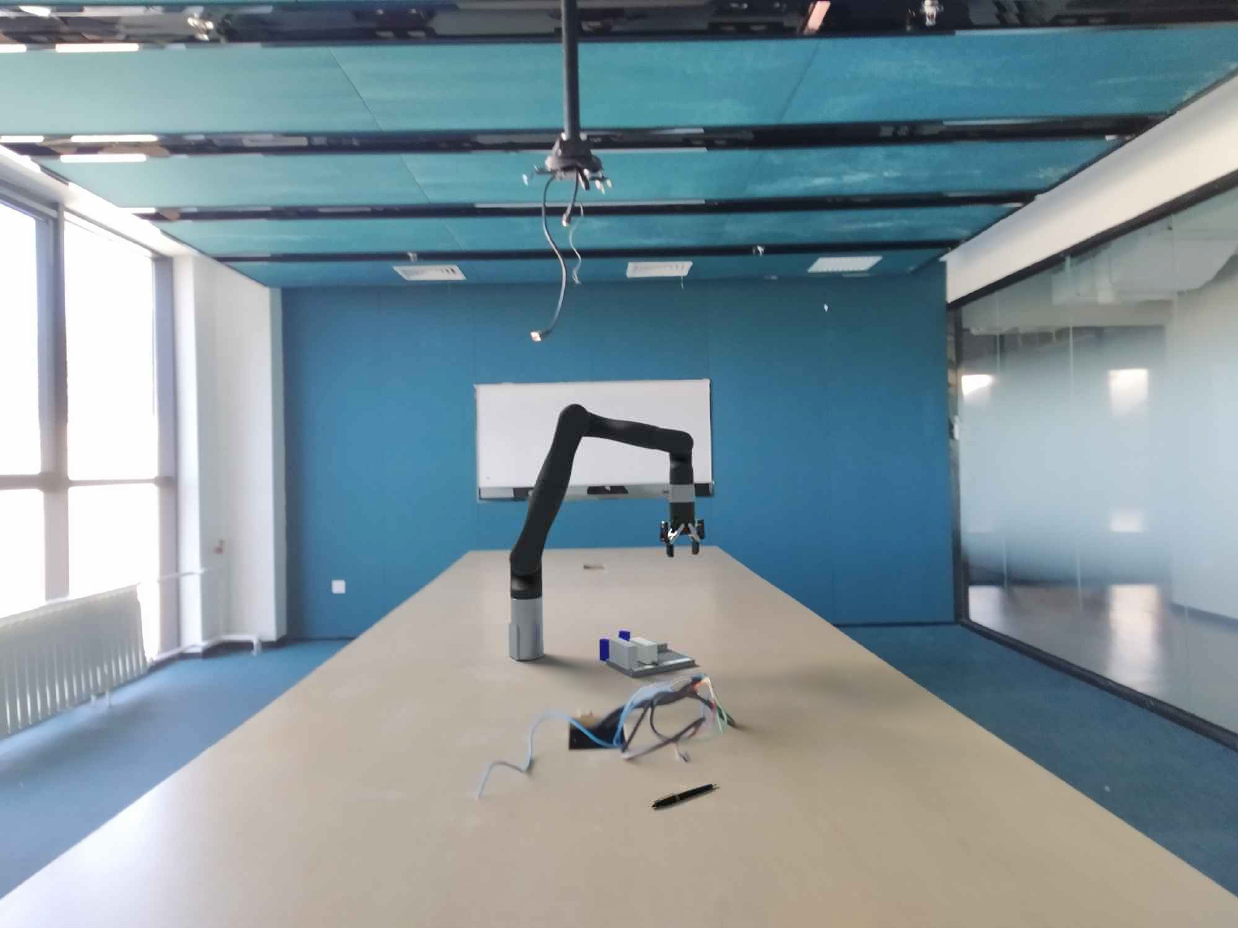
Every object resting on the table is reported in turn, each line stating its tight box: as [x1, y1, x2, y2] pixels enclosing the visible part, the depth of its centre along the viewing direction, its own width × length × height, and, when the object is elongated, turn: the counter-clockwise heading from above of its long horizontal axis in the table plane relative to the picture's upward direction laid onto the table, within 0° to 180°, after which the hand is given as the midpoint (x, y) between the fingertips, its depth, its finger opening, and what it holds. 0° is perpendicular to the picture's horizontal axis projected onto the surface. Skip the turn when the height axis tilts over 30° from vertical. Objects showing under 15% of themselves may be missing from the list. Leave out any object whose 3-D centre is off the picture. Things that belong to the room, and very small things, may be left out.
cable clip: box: [599, 630, 631, 662], centre depth 204 cm, size 12×4×6 cm, turn 148°
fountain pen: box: [651, 782, 719, 808], centre depth 118 cm, size 14×1×2 cm, turn 123°
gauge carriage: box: [629, 636, 659, 665], centre depth 192 cm, size 4×12×5 cm, turn 30°
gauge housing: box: [605, 636, 696, 679], centre depth 194 cm, size 20×14×8 cm
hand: (683, 555), depth 206 cm, fingers open, 8 cm apart
